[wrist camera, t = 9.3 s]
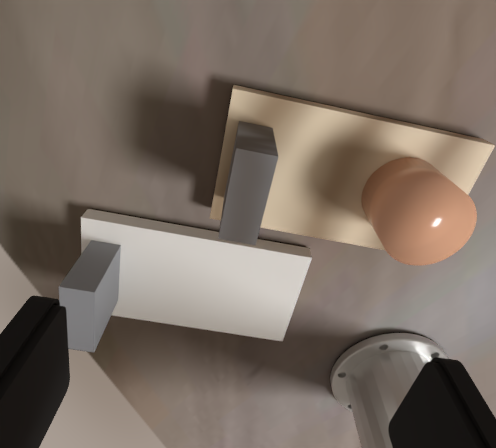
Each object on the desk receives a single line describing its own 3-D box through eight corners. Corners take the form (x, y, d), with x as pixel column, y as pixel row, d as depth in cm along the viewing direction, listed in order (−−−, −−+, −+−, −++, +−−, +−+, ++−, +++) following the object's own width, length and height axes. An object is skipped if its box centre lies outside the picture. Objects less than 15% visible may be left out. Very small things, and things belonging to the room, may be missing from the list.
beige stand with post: (483, 139, 28) (554, 177, 21) (425, 249, 33) (469, 307, 26) (233, 84, 26) (228, 108, 20) (211, 209, 31) (201, 262, 24)
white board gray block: (309, 248, 33) (324, 306, 26) (281, 330, 38) (288, 396, 31) (87, 208, 31) (44, 260, 24) (88, 300, 36) (52, 364, 29)
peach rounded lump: (455, 165, 27) (494, 194, 23) (421, 234, 30) (449, 271, 26) (378, 149, 27) (403, 176, 22) (350, 221, 30) (367, 257, 25)
